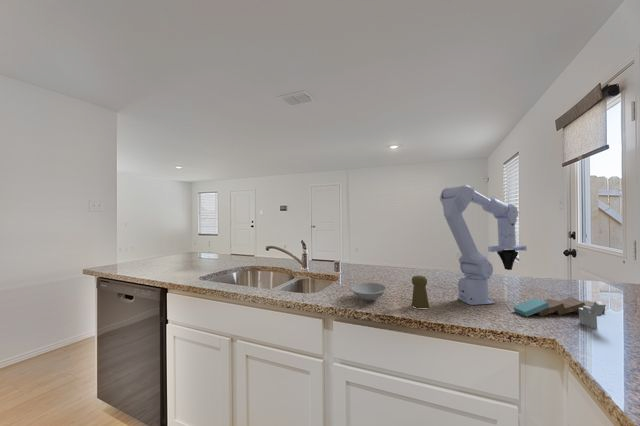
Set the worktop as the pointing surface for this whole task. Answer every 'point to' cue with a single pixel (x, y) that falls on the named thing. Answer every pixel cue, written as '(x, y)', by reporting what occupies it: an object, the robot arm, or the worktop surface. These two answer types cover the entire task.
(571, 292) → the worktop surface
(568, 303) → the walnut domino
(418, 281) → the olive upright piece
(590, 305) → the walnut domino
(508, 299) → the worktop surface
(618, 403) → the worktop surface
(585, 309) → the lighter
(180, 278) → the worktop surface
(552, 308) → the walnut domino
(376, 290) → the dish
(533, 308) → the teal domino
